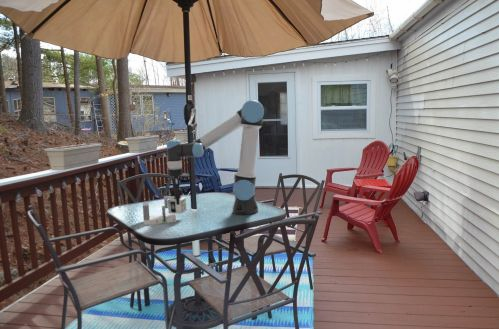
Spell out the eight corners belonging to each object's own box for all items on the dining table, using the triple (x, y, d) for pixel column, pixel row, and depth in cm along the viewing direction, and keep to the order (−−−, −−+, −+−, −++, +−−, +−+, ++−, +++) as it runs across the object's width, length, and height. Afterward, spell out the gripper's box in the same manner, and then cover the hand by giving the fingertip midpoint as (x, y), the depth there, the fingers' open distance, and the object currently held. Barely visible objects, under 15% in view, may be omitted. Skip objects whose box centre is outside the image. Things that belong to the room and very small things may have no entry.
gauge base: (175, 217, 215) (174, 199, 214) (176, 221, 206) (175, 203, 205) (144, 220, 211) (142, 202, 209) (144, 225, 202) (142, 205, 201)
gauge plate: (167, 216, 214) (166, 196, 212) (168, 221, 204) (167, 199, 203) (162, 217, 213) (161, 196, 212) (163, 221, 203) (161, 200, 202)
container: (181, 213, 206) (180, 190, 204) (168, 213, 207) (166, 190, 206) (186, 210, 213) (185, 187, 212) (173, 210, 215) (172, 187, 213)
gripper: (167, 166, 217) (169, 204, 220) (169, 171, 196) (171, 213, 198) (180, 165, 219) (182, 203, 222) (183, 170, 198) (186, 211, 200)
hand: (177, 208), depth 210 cm, fingers closed on container, 10 cm apart
